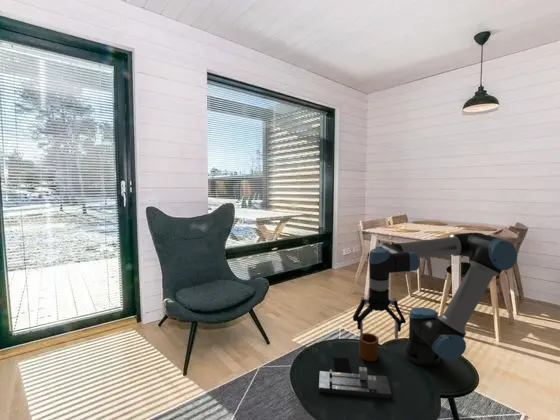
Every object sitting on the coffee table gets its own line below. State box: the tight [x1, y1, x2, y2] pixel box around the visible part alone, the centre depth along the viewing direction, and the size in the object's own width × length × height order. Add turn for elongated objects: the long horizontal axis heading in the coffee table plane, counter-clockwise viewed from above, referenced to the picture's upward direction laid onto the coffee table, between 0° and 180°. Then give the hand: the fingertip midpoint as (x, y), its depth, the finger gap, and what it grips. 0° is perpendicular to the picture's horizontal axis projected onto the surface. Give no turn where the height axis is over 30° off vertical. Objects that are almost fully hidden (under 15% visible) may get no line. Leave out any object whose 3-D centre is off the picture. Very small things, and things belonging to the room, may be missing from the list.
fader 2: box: [368, 375, 377, 389], centre depth 122 cm, size 3×2×4 cm
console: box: [318, 369, 393, 399], centre depth 126 cm, size 28×10×4 cm, turn 80°
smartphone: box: [332, 357, 353, 374], centre depth 137 cm, size 7×1×15 cm
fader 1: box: [358, 366, 368, 380], centre depth 127 cm, size 3×2×4 cm
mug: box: [358, 332, 380, 362], centre depth 147 cm, size 9×12×9 cm
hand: (378, 337), depth 124 cm, fingers open, 13 cm apart
